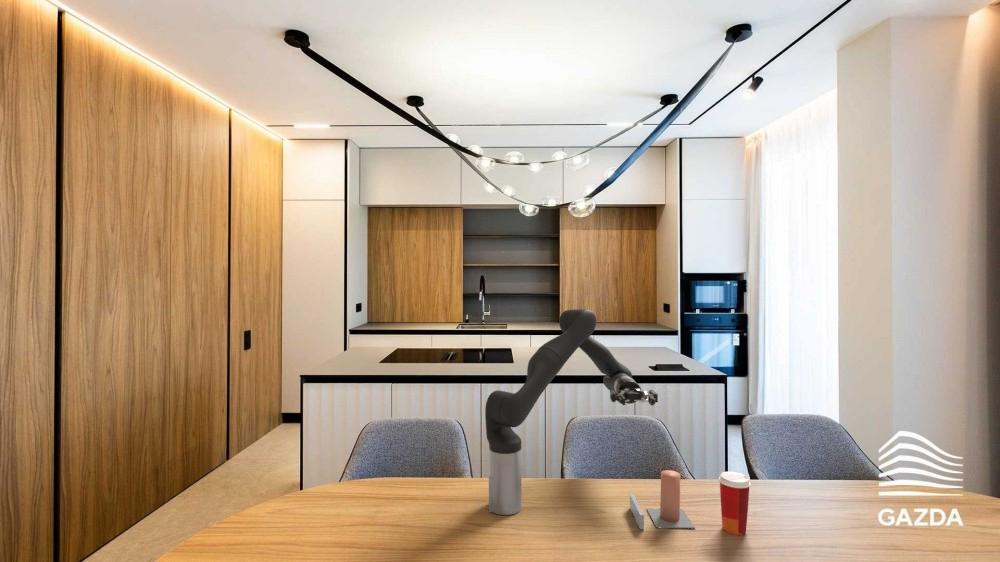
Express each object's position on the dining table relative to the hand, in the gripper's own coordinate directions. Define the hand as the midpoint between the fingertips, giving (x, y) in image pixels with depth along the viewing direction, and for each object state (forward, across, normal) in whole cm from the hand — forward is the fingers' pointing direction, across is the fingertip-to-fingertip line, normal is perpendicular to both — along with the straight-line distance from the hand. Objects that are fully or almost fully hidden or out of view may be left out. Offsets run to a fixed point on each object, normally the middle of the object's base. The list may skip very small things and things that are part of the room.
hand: (638, 402), depth 151 cm
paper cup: (+20, +20, +28) cm, 40 cm away
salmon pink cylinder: (+15, +5, +28) cm, 32 cm away
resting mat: (+15, +5, +28) cm, 32 cm away
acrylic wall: (+15, -4, +28) cm, 32 cm away
